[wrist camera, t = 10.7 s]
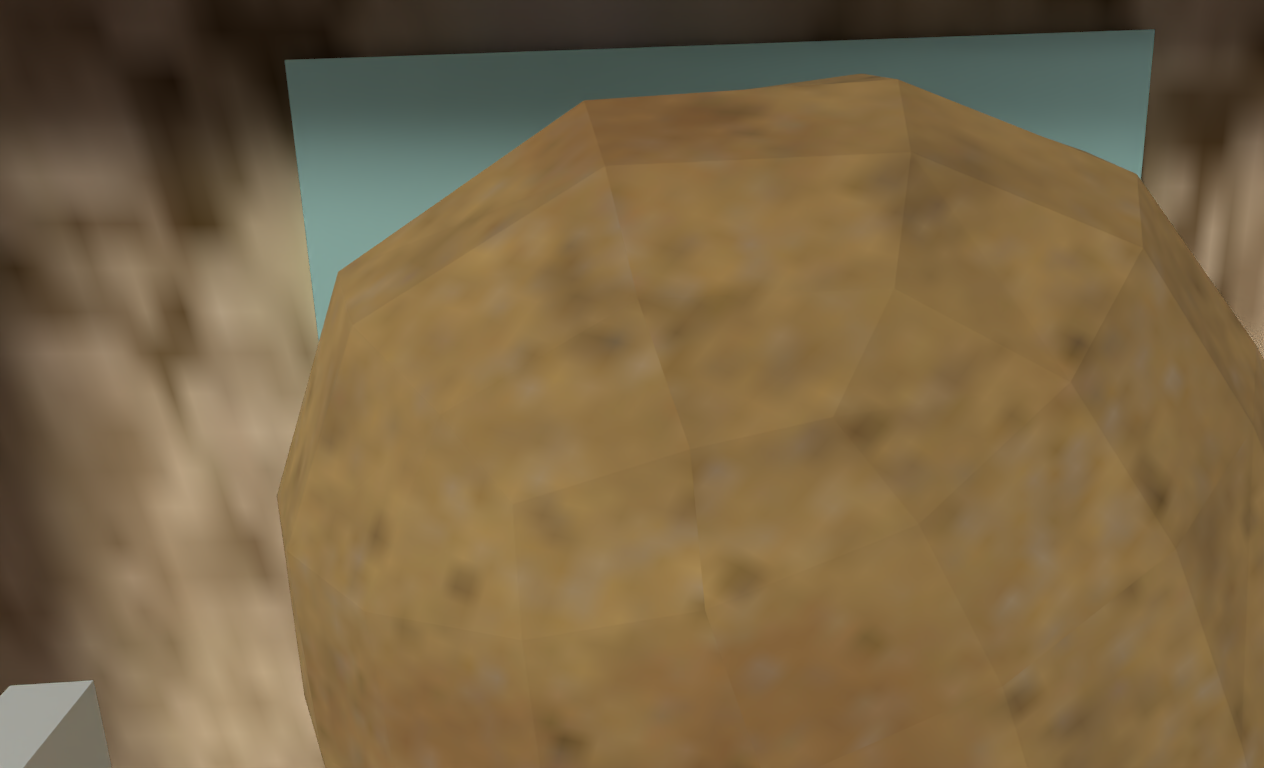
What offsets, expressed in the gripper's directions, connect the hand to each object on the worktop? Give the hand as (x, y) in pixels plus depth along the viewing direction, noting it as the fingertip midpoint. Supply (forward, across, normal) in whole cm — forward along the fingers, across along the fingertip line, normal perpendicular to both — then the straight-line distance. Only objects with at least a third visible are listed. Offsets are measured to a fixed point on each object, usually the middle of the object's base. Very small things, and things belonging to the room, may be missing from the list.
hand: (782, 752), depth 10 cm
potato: (+4, +1, 0) cm, 4 cm away
